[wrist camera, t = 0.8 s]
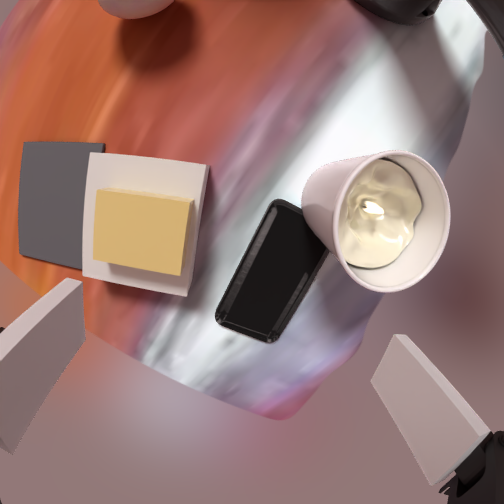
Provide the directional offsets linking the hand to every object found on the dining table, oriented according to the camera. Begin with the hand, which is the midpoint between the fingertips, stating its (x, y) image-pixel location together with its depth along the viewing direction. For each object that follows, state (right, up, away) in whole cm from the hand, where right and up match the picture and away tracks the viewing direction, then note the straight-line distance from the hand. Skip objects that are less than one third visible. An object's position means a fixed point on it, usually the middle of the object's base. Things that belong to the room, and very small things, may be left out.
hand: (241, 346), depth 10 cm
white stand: (-10, +7, +17) cm, 21 cm away
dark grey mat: (-22, +9, +16) cm, 28 cm away
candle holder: (+9, +9, +18) cm, 22 cm away
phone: (+3, +1, +20) cm, 20 cm away
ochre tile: (-9, +6, +13) cm, 17 cm away
